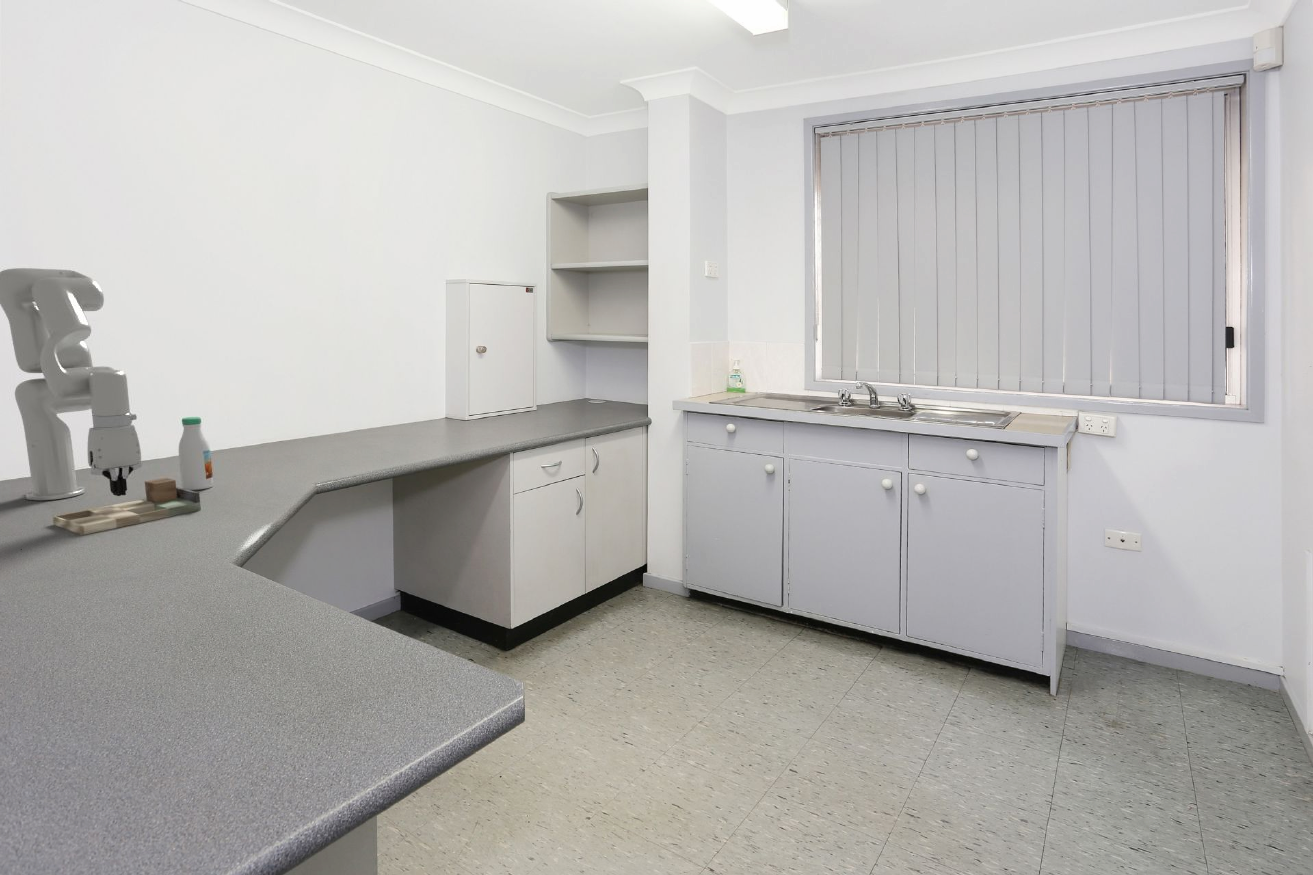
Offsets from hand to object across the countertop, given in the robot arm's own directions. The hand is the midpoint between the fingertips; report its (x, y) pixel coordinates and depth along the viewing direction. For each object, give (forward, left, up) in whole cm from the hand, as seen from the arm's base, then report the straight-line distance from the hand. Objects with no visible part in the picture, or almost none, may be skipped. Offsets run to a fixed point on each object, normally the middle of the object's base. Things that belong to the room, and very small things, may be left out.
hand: (119, 494), depth 190 cm
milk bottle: (-13, +25, -5) cm, 29 cm away
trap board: (+4, 0, -5) cm, 7 cm away
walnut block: (+1, +9, -3) cm, 9 cm away
